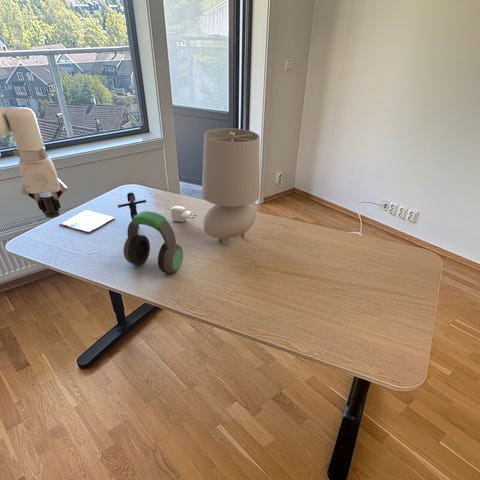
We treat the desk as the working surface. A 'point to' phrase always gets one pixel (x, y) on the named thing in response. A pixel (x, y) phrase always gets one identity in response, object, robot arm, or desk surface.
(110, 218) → the board
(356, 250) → the desk surface
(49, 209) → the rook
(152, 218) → the headphones
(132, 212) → the figurine
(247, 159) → the table lamp
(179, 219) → the power adapter
